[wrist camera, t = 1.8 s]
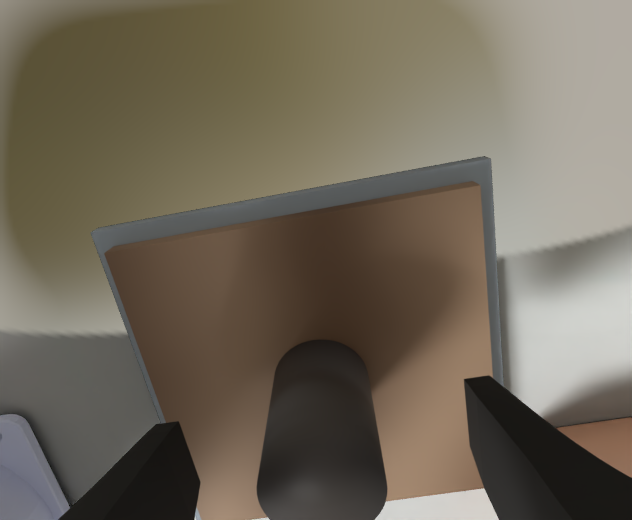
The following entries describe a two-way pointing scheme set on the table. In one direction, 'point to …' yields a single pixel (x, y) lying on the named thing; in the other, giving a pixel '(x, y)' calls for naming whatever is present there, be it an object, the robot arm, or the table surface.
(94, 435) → the table surface
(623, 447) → the open box
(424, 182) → the mat
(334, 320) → the lid
